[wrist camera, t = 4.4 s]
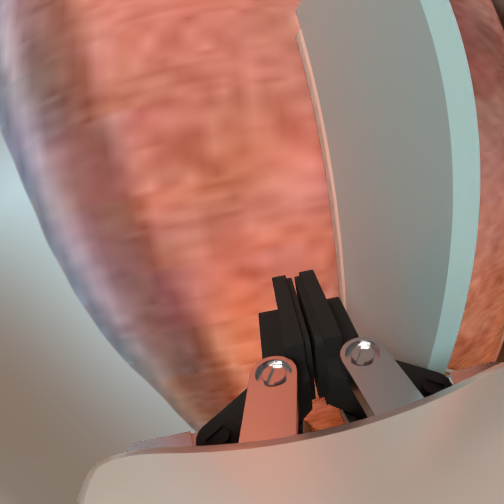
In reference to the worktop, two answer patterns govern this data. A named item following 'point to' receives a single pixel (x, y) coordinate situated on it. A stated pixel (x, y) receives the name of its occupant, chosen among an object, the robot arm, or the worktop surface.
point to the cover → (400, 166)
